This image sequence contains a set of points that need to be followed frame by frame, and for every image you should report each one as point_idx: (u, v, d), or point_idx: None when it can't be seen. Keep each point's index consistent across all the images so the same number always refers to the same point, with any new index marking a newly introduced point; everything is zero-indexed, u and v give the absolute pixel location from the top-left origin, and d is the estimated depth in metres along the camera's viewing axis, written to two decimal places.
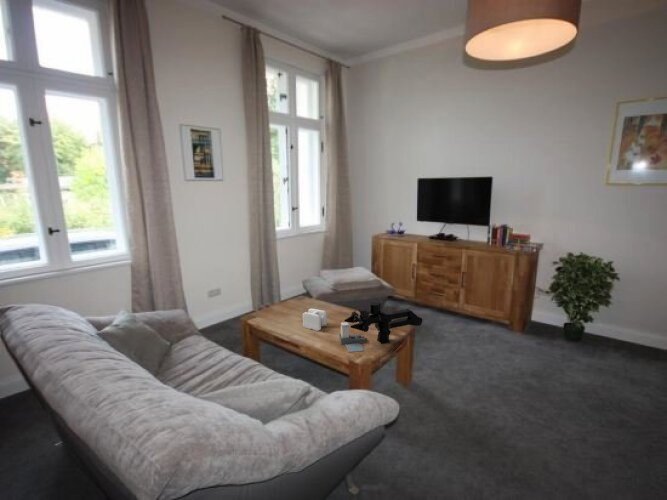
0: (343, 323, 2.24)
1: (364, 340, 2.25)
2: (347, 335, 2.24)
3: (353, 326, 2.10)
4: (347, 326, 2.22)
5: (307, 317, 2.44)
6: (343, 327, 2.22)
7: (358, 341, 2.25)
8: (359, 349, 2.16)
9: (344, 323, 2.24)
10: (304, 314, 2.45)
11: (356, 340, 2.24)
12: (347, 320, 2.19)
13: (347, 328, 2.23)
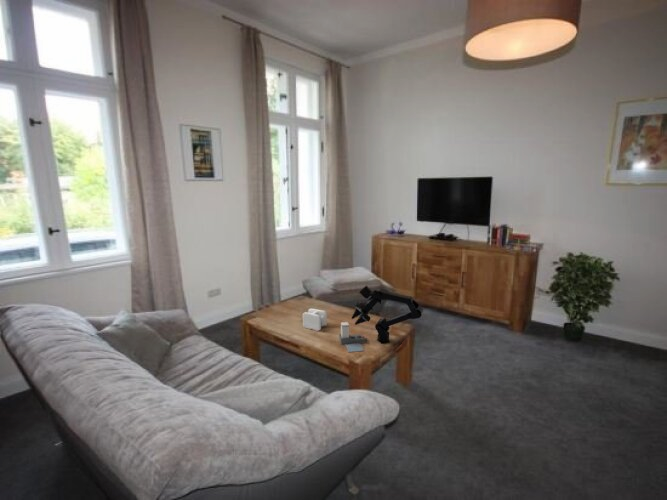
0: (343, 323, 2.24)
1: (364, 340, 2.25)
2: (347, 335, 2.24)
3: (357, 322, 2.19)
4: (347, 326, 2.22)
5: (307, 317, 2.44)
6: (343, 327, 2.22)
7: (358, 341, 2.25)
8: (359, 349, 2.16)
9: (344, 323, 2.24)
10: (304, 314, 2.45)
11: (356, 340, 2.24)
12: (354, 316, 2.29)
13: (347, 328, 2.23)
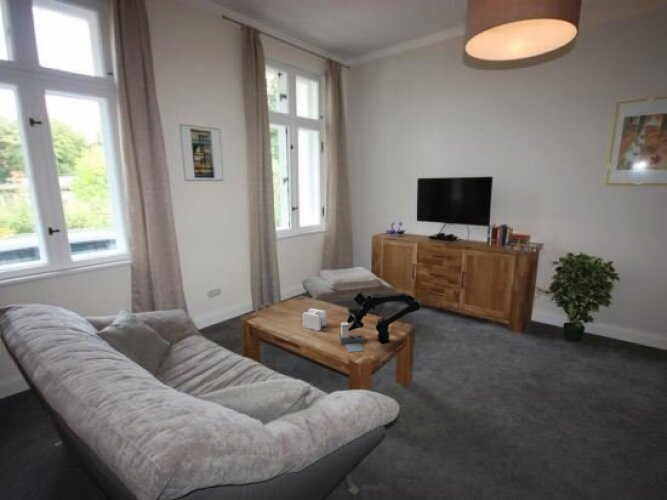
0: (343, 323, 2.24)
1: (364, 340, 2.25)
2: (347, 335, 2.24)
3: (350, 329, 2.20)
4: (347, 326, 2.22)
5: (307, 317, 2.44)
6: (343, 327, 2.22)
7: (358, 341, 2.25)
8: (359, 349, 2.16)
9: (344, 323, 2.24)
10: (304, 314, 2.45)
11: (356, 340, 2.24)
12: None
13: (347, 328, 2.23)
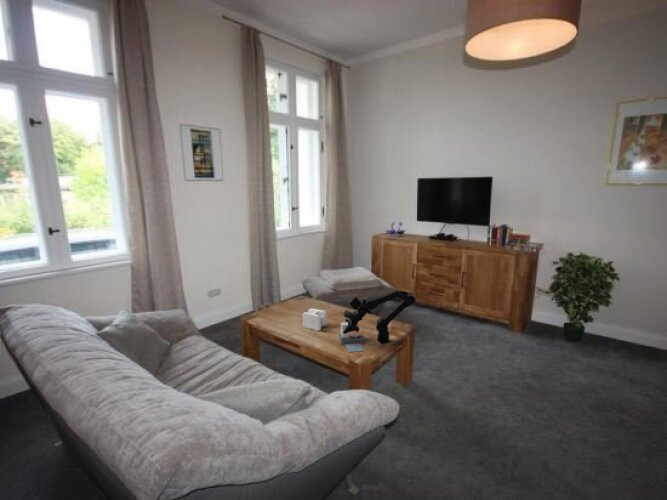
0: (343, 323, 2.24)
1: (364, 340, 2.25)
2: (347, 335, 2.24)
3: (345, 331, 2.22)
4: (347, 326, 2.22)
5: (307, 317, 2.44)
6: (343, 327, 2.22)
7: (358, 341, 2.25)
8: (359, 349, 2.16)
9: (344, 323, 2.24)
10: (304, 314, 2.45)
11: (356, 340, 2.24)
12: None
13: None
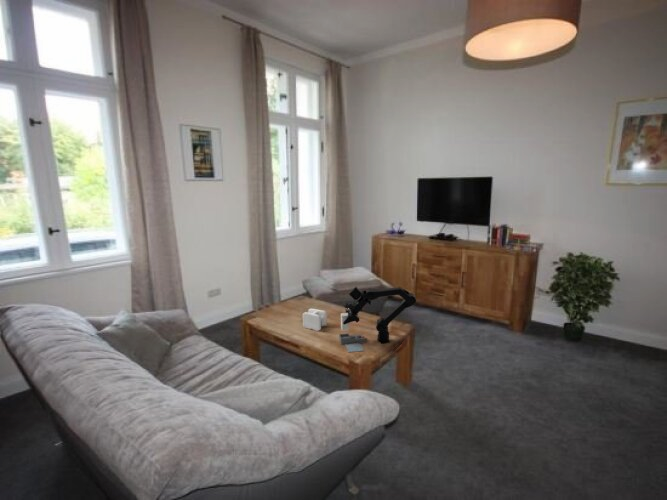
0: (343, 314, 2.23)
1: (364, 340, 2.25)
2: (347, 326, 2.22)
3: (345, 322, 2.20)
4: None
5: (307, 317, 2.44)
6: (343, 318, 2.21)
7: (358, 341, 2.25)
8: (359, 349, 2.16)
9: (344, 314, 2.23)
10: (304, 314, 2.45)
11: (356, 340, 2.24)
12: None
13: None
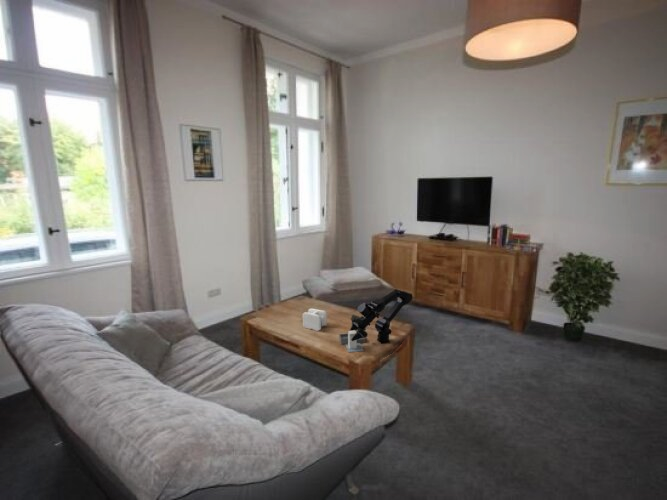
0: (350, 331, 2.17)
1: (364, 340, 2.25)
2: (355, 344, 2.16)
3: (353, 338, 2.12)
4: None
5: (307, 317, 2.44)
6: (351, 336, 2.15)
7: (358, 341, 2.25)
8: (359, 349, 2.16)
9: (351, 331, 2.17)
10: (304, 314, 2.45)
11: None
12: None
13: None
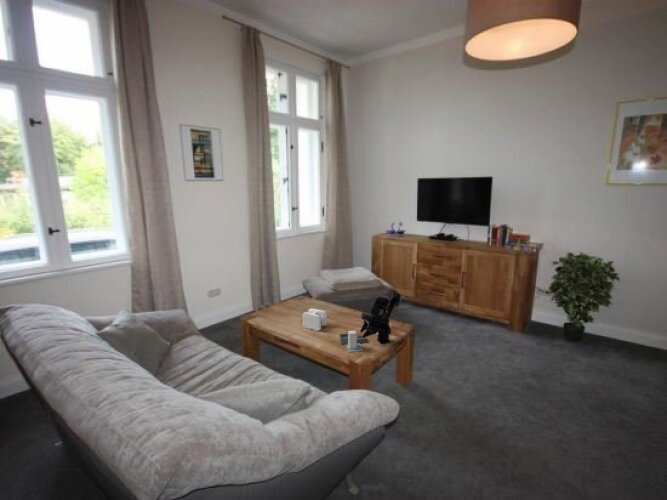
0: (350, 331, 2.17)
1: (364, 340, 2.25)
2: (355, 344, 2.16)
3: (364, 335, 2.14)
4: (355, 335, 2.15)
5: (307, 317, 2.44)
6: (351, 336, 2.15)
7: (358, 341, 2.25)
8: (359, 349, 2.16)
9: (351, 331, 2.17)
10: (304, 314, 2.45)
11: None
12: (362, 329, 2.23)
13: (355, 337, 2.15)
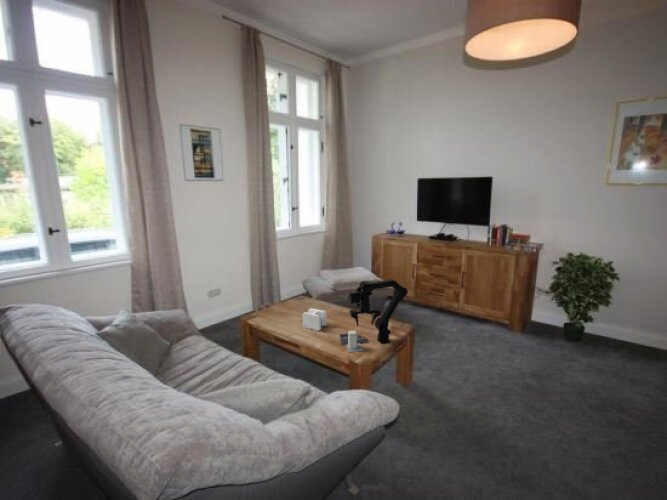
0: (350, 331, 2.17)
1: (364, 340, 2.25)
2: (355, 344, 2.16)
3: None
4: (355, 335, 2.15)
5: (307, 317, 2.44)
6: (351, 336, 2.15)
7: (358, 341, 2.25)
8: (359, 349, 2.16)
9: (351, 331, 2.17)
10: (304, 314, 2.45)
11: None
12: (371, 321, 2.20)
13: (355, 337, 2.15)
